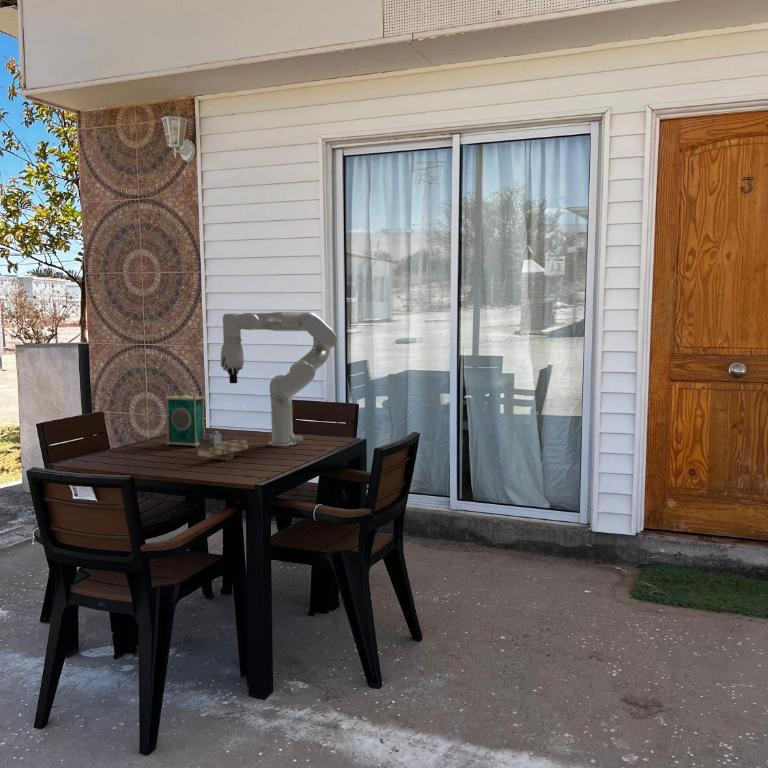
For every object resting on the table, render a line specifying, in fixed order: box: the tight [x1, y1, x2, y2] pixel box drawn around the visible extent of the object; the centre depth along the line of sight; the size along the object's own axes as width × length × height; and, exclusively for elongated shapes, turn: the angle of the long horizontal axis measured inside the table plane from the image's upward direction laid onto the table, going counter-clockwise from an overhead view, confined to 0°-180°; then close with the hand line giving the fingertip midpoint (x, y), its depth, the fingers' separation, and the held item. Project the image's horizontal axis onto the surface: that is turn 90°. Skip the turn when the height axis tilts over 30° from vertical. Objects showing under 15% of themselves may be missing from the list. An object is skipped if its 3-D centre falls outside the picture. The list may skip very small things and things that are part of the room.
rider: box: [209, 431, 222, 447], centre depth 308 cm, size 4×2×7 cm, turn 145°
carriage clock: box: [163, 379, 207, 448], centre depth 345 cm, size 17×9×30 cm, turn 70°
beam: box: [197, 437, 249, 461], centre depth 312 cm, size 22×7×10 cm, turn 145°
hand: (233, 383), depth 335 cm, fingers closed
